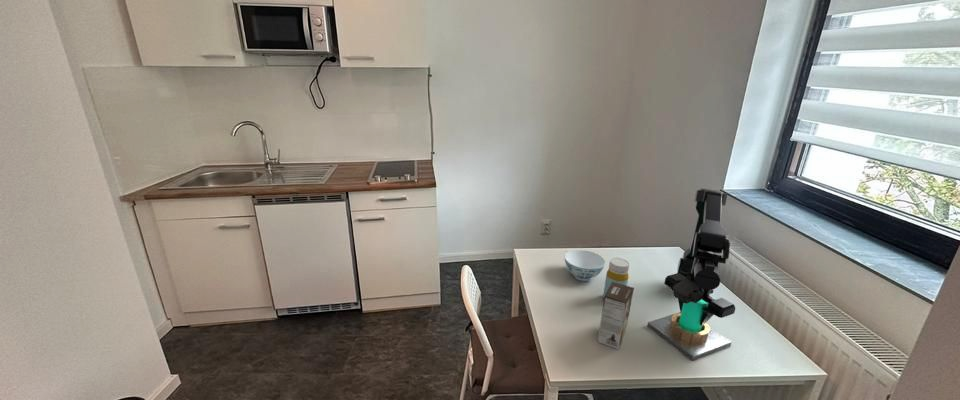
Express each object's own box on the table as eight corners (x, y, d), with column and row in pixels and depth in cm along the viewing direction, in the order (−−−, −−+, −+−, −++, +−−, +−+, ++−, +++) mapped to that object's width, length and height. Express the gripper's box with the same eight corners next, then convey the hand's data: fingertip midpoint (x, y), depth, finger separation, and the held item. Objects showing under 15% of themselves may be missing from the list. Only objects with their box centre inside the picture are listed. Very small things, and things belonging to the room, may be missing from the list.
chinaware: (607, 274, 147) (609, 256, 145) (596, 291, 135) (598, 272, 133) (570, 263, 155) (572, 246, 152) (556, 279, 143) (558, 261, 140)
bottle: (625, 307, 127) (632, 268, 122) (603, 304, 128) (609, 265, 123) (622, 296, 133) (628, 258, 128) (601, 293, 134) (607, 256, 129)
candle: (684, 319, 117) (692, 285, 113) (704, 329, 112) (713, 295, 108) (674, 325, 113) (682, 291, 109) (694, 337, 109) (703, 302, 105)
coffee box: (605, 325, 117) (612, 280, 112) (626, 332, 114) (634, 287, 109) (596, 342, 110) (604, 295, 105) (619, 350, 107) (628, 302, 102)
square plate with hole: (683, 314, 124) (686, 302, 122) (730, 346, 110) (734, 333, 108) (646, 326, 117) (649, 314, 116) (692, 361, 104) (695, 347, 102)
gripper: (655, 262, 111) (646, 306, 117) (714, 295, 95) (701, 345, 100) (682, 255, 116) (672, 299, 121) (743, 286, 100) (728, 335, 105)
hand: (691, 318), depth 112 cm, fingers closed on candle, 6 cm apart
